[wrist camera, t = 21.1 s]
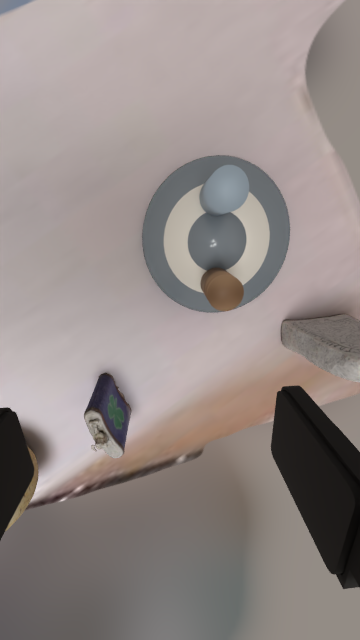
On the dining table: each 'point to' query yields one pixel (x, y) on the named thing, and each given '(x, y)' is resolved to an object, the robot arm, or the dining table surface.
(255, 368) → the dining table surface
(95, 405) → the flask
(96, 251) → the dining table surface
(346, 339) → the decorative stone
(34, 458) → the fossilized egg
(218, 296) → the brown rounded cylinder
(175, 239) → the plate
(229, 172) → the smooth blue-gray rounded cylinder
